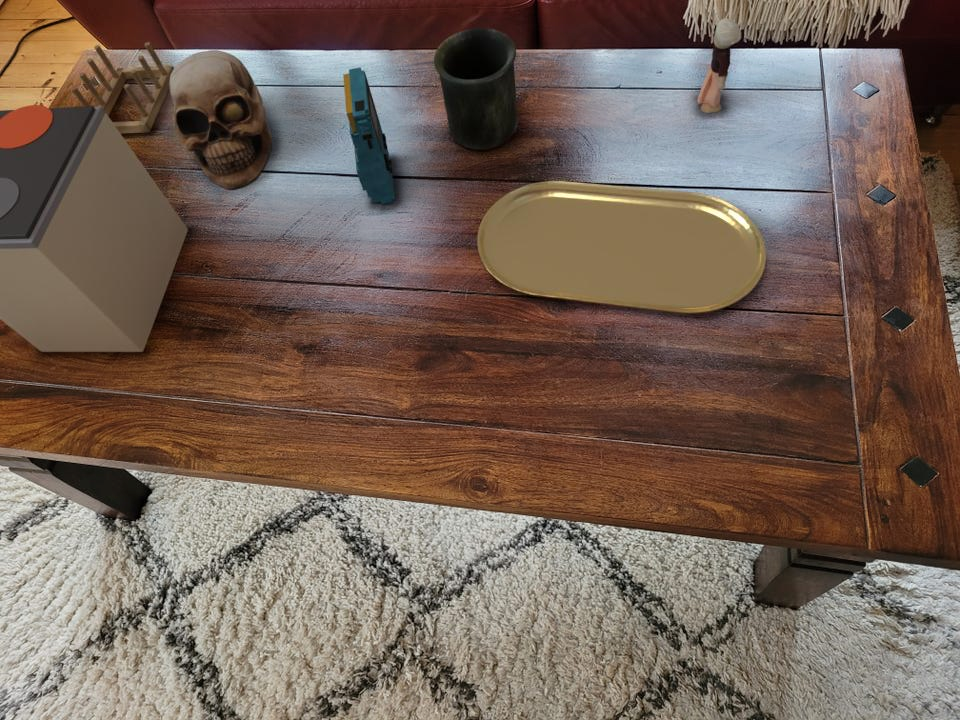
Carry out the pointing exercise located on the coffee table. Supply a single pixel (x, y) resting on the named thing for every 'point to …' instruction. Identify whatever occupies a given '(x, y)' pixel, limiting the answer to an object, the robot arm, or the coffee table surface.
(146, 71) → the rack
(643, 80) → the coffee table surface
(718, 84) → the grandmother figurine
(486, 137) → the mug
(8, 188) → the stove
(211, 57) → the tan skull
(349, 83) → the handheld gaming console
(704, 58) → the coffee table surface
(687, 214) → the serving platter
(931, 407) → the coffee table surface
